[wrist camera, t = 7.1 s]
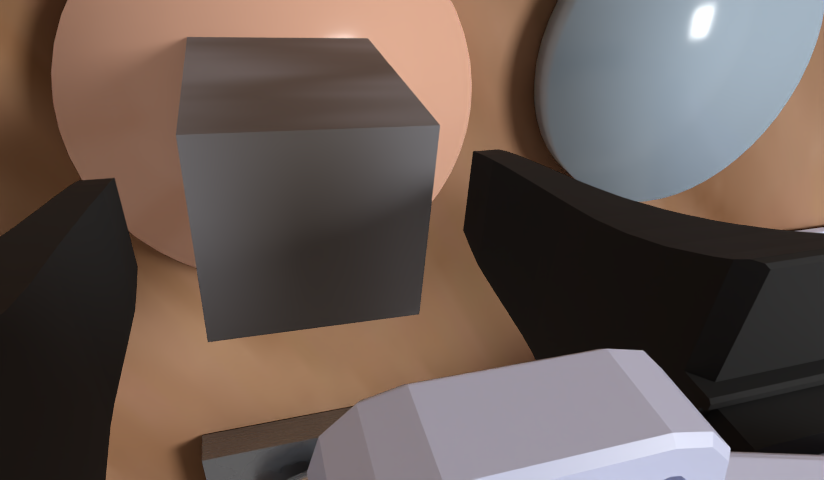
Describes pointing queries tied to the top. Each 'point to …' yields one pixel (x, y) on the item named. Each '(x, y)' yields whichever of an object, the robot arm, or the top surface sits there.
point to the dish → (162, 78)
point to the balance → (266, 449)
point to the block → (303, 183)
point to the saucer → (666, 86)
